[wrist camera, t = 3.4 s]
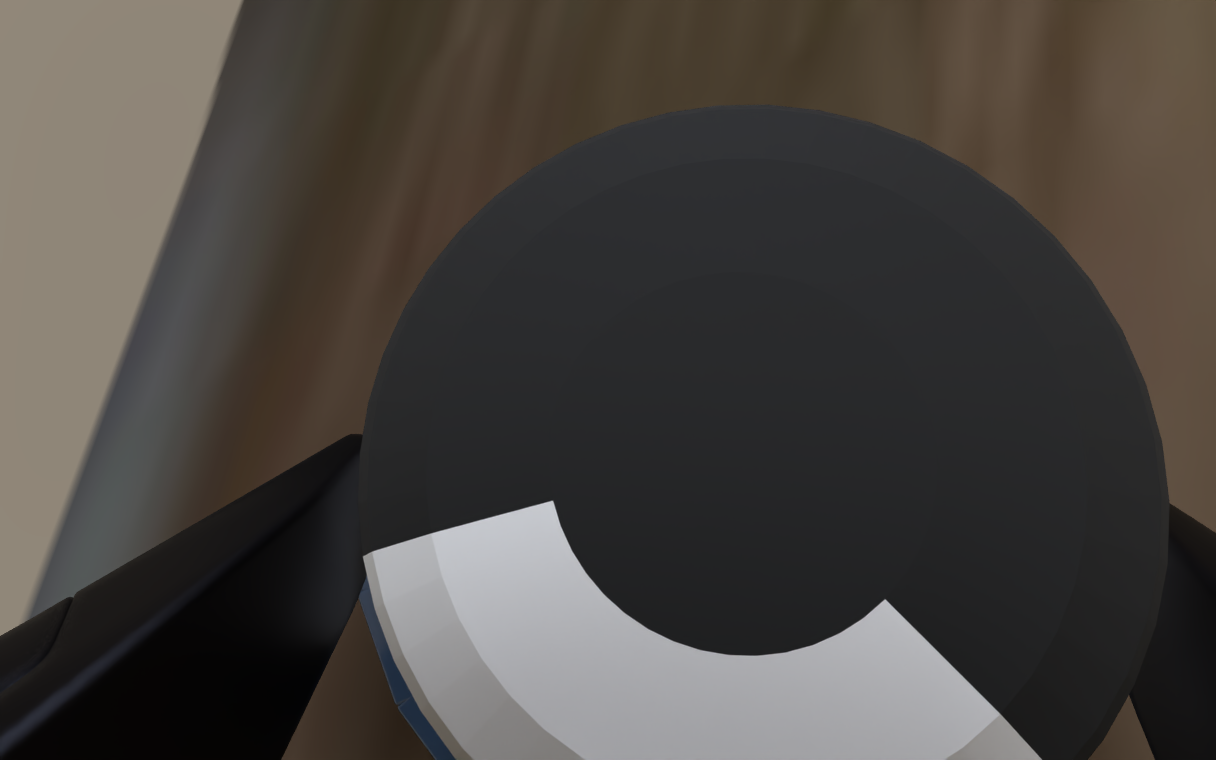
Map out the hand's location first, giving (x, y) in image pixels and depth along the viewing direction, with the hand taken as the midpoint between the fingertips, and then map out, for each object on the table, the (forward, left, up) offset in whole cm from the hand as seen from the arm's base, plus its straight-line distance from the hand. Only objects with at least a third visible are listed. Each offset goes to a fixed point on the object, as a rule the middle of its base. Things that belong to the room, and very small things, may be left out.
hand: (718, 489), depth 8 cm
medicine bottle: (0, 0, -8) cm, 8 cm away
